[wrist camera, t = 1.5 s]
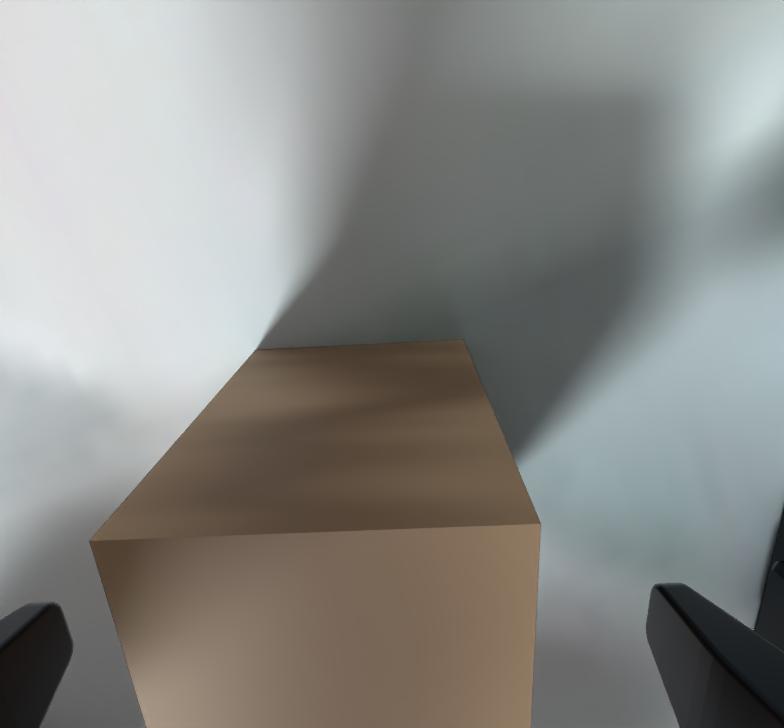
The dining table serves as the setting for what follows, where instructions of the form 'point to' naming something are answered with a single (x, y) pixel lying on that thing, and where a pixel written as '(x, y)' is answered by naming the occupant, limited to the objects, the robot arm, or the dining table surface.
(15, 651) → the robot arm
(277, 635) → the walnut block
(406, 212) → the dining table surface
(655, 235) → the dining table surface
